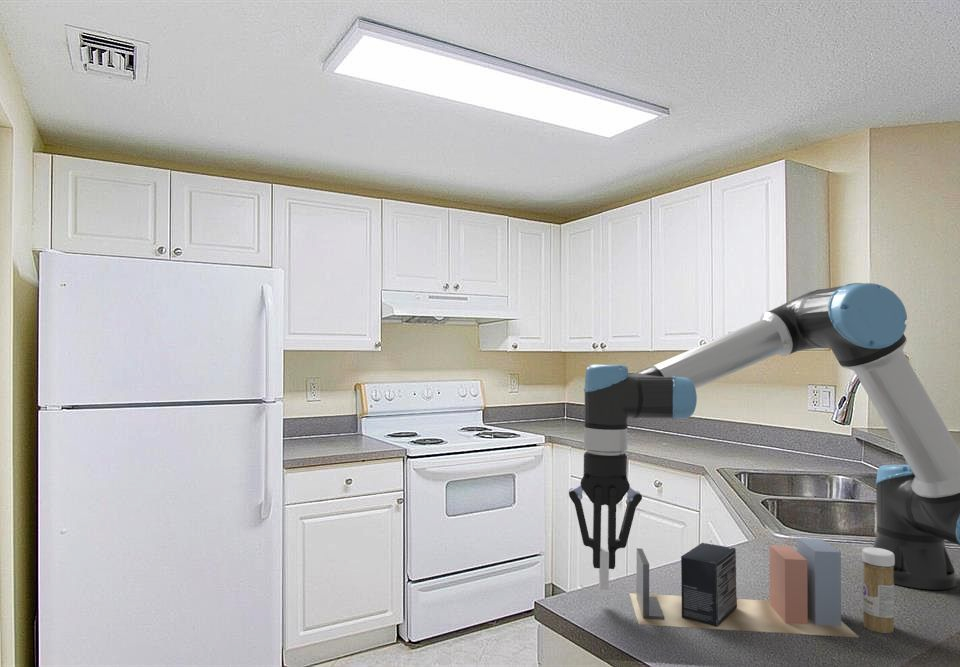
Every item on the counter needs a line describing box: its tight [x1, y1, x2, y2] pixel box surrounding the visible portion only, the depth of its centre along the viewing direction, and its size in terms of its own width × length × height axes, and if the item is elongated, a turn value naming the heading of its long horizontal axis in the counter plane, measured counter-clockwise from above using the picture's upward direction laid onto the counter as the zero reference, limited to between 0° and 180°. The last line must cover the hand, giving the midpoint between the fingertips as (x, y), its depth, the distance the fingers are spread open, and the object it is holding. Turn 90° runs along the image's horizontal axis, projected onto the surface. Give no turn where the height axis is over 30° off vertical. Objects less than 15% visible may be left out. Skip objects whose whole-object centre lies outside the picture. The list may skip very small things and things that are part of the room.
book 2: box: [796, 537, 842, 626], centre depth 111 cm, size 4×8×12 cm, turn 173°
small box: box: [680, 542, 738, 627], centre depth 112 cm, size 11×6×10 cm, turn 142°
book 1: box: [768, 544, 808, 624], centre depth 111 cm, size 4×8×10 cm, turn 173°
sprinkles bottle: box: [861, 546, 895, 634], centre depth 106 cm, size 5×5×13 cm
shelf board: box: [628, 592, 859, 638], centre depth 111 cm, size 34×14×1 cm, turn 83°
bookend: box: [636, 548, 664, 620], centre depth 113 cm, size 4×9×9 cm, turn 173°
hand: (603, 586), depth 114 cm, fingers closed
